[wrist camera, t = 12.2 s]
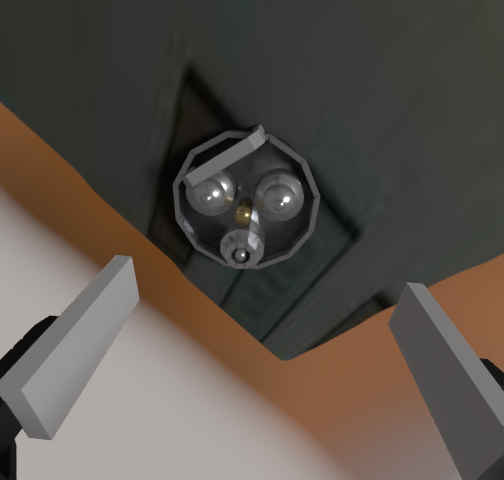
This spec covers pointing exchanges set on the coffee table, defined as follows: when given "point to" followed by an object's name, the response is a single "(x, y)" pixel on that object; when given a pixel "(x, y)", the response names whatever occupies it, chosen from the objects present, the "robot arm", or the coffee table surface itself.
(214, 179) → the carrier
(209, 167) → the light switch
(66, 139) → the coffee table surface
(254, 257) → the grey nut
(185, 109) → the coffee table surface
